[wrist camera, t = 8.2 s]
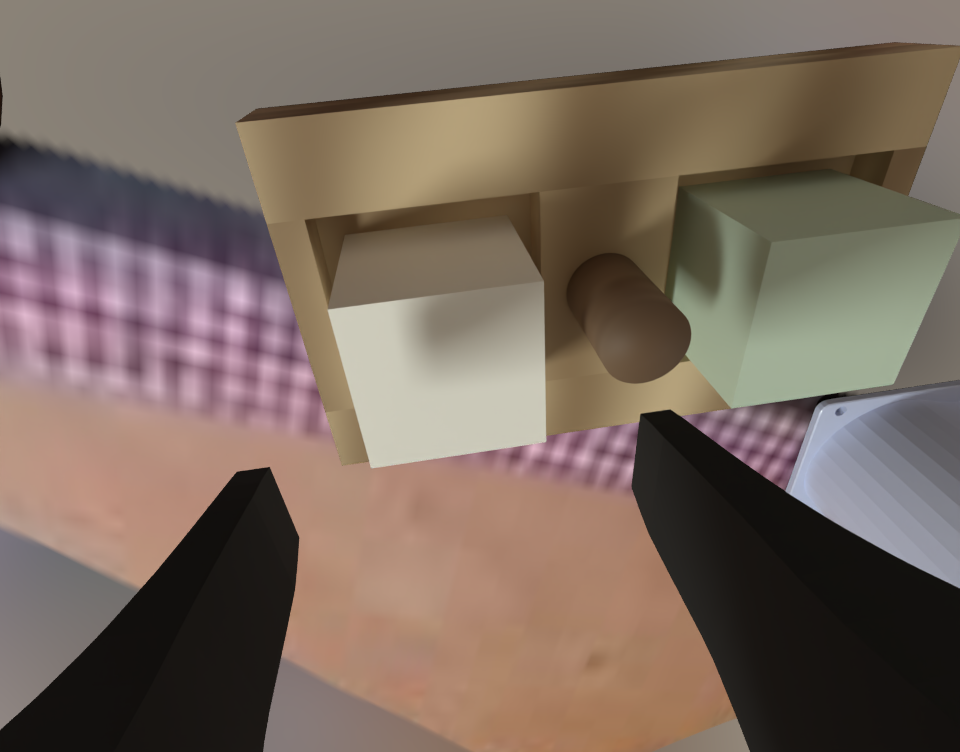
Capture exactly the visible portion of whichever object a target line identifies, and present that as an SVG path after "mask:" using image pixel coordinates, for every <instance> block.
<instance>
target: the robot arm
mask: <svg viewBox="0 0 960 752" xmlns="http://www.w3.org/2000/svg"><path fill="white" fill-rule="evenodd" d="M632 490H633V492H634V495H635V498H636V501H637V504H638V506H639V509H640V512H641V515H642V517H643V520H644V522H645V525H646V528H647V530H648V533H649V535H650V537H651V539H652V541H653V543H654V545H655V547H656V549H657V551H658V553H659V555H660V557H661V559H662V561H663V562H664V564H665V566H666V568H667V570H668V572H669V574H670V576H671V578H672V580H673V582H674V584H675V586H676V587H677V589H678V591H679V593H680V595H681V597H682V599H683V601H684V603H685V605H686V607H687V609H688V610H689V612H690V614H691V616H692V618H693V620H694V622H695V624H696V626H697V628H698V630H699V632H700V633H701V635H702V637H703V639H704V641H705V644H706V646H707V648H708V650H709V652H710V654H711V656H712V658H713V660H714V663H715V665H716V668H717V670H718V672H719V675H720V677H721V680H722V682H723V685H724V687H725V690H726V692H727V694H728V697H729V699H730V702H731V704H732V707H733V709H734V712H735V714H736V716H737V719H738V722H739V724H740V727H741V729H742V732H743V734H744V737H745V740H746V742H747V745H748V747H749V750H750V752H960V380H956V381H949V382H942V383H935V384H929V385H922V386H915V387H908V388H902V389H895V390H889V391H882V392H875V393H868V394H861V395H854V396H848V397H841V398H834V399H828V400H824V401H822V402H820V403H819V404H818V405H817V406H816V408H815V410H814V413H813V416H812V419H811V422H810V424H809V427H808V430H807V433H806V435H805V438H804V441H803V444H802V447H801V449H800V452H799V455H798V458H797V461H796V463H795V466H794V469H793V472H792V475H791V477H790V480H789V483H788V486H787V488H786V491H784V490H783V489H781V488H780V487H778V486H777V485H775V484H774V483H772V482H771V481H769V480H768V479H766V478H765V477H763V476H762V475H760V474H759V473H758V472H756V471H755V470H753V469H752V468H750V467H749V466H748V465H746V464H745V463H743V462H742V461H741V460H739V459H738V458H736V457H735V456H734V455H732V454H731V453H729V452H728V451H727V450H725V449H724V448H723V447H721V446H720V445H719V444H717V443H716V442H714V441H713V440H712V439H710V438H709V437H708V436H706V435H705V434H704V433H702V432H701V431H700V430H698V429H697V428H696V427H694V426H693V425H692V424H690V423H689V422H687V421H686V420H685V419H683V418H682V417H681V416H679V415H678V414H676V413H675V412H674V411H672V410H671V409H669V410H662V411H655V412H648V413H641V414H640V421H639V429H638V438H637V446H636V454H635V463H634V471H633V479H632ZM298 548H299V536H298V534H297V531H296V529H295V526H294V524H293V522H292V519H291V517H290V515H289V512H288V510H287V507H286V505H285V503H284V500H283V498H282V495H281V493H280V491H279V488H278V486H277V483H276V481H275V479H274V476H273V474H272V472H271V469H270V467H267V468H260V469H253V470H246V471H239V472H236V474H235V475H234V476H233V477H232V478H231V480H230V481H229V482H228V483H227V485H226V486H225V487H224V488H223V490H222V491H221V492H220V493H219V495H218V496H217V497H216V498H215V500H214V501H213V502H212V503H211V505H210V506H209V507H208V508H207V510H206V511H205V512H204V513H203V515H202V516H201V517H200V518H199V520H198V521H197V522H196V523H195V525H194V526H193V527H192V528H191V530H190V531H189V532H188V533H187V535H186V536H185V537H184V538H183V540H182V541H181V542H180V543H179V544H178V546H177V547H176V548H175V549H174V551H173V552H172V553H171V554H170V555H169V557H168V558H167V559H166V560H165V561H164V563H163V564H162V565H161V566H160V567H159V569H158V570H157V571H156V572H155V573H154V575H153V576H152V577H151V578H150V579H149V580H148V581H147V583H146V584H145V585H144V586H143V587H142V588H141V589H140V590H139V592H138V593H137V594H136V595H135V596H134V597H133V598H132V599H131V601H130V602H129V603H128V604H127V605H126V606H125V607H124V608H123V610H122V611H121V612H120V613H119V614H118V615H117V616H116V617H115V619H114V620H113V621H112V622H111V623H110V624H109V625H108V626H107V627H106V628H105V629H104V630H103V631H102V633H101V634H100V635H99V636H98V637H97V638H96V639H95V640H94V641H93V642H92V643H91V644H90V645H89V646H88V647H87V648H86V649H85V650H84V651H83V652H82V653H81V654H80V655H79V656H78V657H77V658H76V659H75V660H74V661H73V662H72V663H71V664H70V665H69V666H68V667H67V668H66V669H65V670H64V671H63V672H62V673H61V674H60V675H59V676H58V677H57V678H56V679H55V680H54V681H53V682H52V683H51V684H50V685H49V686H48V687H47V688H46V689H45V690H44V691H43V692H42V693H40V694H39V696H37V697H36V698H35V699H34V700H33V701H32V702H31V703H30V704H29V705H28V706H26V707H25V708H24V709H23V710H22V711H21V712H20V713H19V714H18V715H16V716H15V717H14V718H13V719H12V720H11V721H10V722H9V723H8V724H6V725H5V726H4V727H3V728H2V729H1V730H0V752H263V747H264V740H265V734H266V728H267V722H268V716H269V711H270V706H271V702H272V697H273V692H274V687H275V683H276V678H277V673H278V669H279V664H280V659H281V655H282V650H283V645H284V641H285V636H286V631H287V626H288V621H289V617H290V612H291V607H292V602H293V597H294V592H295V584H296V574H297V562H298Z"/></svg>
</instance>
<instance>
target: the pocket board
mask: <svg viewBox="0 0 960 752" xmlns="http://www.w3.org/2000/svg"><path fill="white" fill-rule="evenodd" d="M959 59H960V46H954V45H935V44H917V43H898V42H894V43H884V44H874V45H865V46H855V47H845V48H836V49H826V50H817V51H808V52H798V53H787V54H778V55H769V56H759V57H749V58H739V59H730V60H720V61H711V62H701V63H691V64H682V65H672V66H663V67H653V68H644V69H634V70H624V71H615V72H605V73H595V74H586V75H577V76H568V77H557V78H547V79H537V80H528V81H518V82H509V83H499V84H489V85H480V86H471V87H462V88H451V89H441V90H432V91H422V92H412V93H403V94H394V95H384V96H374V97H365V98H355V99H346V100H336V101H326V102H317V103H307V104H298V105H287V106H279V107H268V108H259V109H255V110H254V111H252V112H251V113H249V114H248V115H246V116H245V117H243V118H242V119H240V120H239V121H237V122H236V126H237V129H238V133H239V136H240V139H241V143H242V146H243V149H244V152H245V155H246V158H247V162H248V165H249V168H250V171H251V175H252V178H253V181H254V184H255V188H256V191H257V194H258V197H259V200H260V204H261V207H262V210H263V213H264V216H265V220H266V223H267V226H268V229H269V233H270V236H271V239H272V242H273V245H274V249H275V252H276V255H277V258H278V261H279V265H280V268H281V271H282V274H283V277H284V281H285V284H286V287H287V290H288V294H289V297H290V300H291V303H292V306H293V310H294V313H295V316H296V319H297V322H298V326H299V329H300V332H301V335H302V338H303V342H304V345H305V348H306V351H307V355H308V358H309V361H310V364H311V367H312V371H313V374H314V377H315V380H316V383H317V387H318V390H319V393H320V396H321V400H322V403H323V406H324V409H325V412H326V416H327V419H328V422H329V425H330V428H331V432H332V435H333V438H334V441H335V444H336V448H337V451H338V454H339V457H340V461H341V464H342V466H343V465H350V464H357V463H364V462H369V459H368V455H367V451H366V448H365V444H364V441H363V437H362V433H361V430H360V426H359V422H358V419H357V415H356V411H355V408H354V404H353V401H352V397H351V393H350V390H349V386H348V382H347V379H346V375H345V372H344V368H343V364H342V361H341V357H340V353H339V350H338V346H337V343H336V339H335V335H334V332H333V328H332V324H331V321H330V317H329V313H328V310H327V309H328V305H329V301H330V297H331V292H332V288H333V284H334V280H335V275H336V271H337V267H338V262H339V258H340V254H341V250H342V245H343V241H344V237H345V235H348V234H357V233H365V232H373V231H381V230H389V229H397V228H405V227H413V226H421V225H429V224H437V223H445V222H453V221H461V220H469V219H477V218H485V217H493V216H502V215H507V216H508V217H509V219H510V221H511V223H512V225H513V226H514V228H515V230H516V232H517V234H518V235H519V237H520V239H521V241H522V243H523V244H524V246H525V248H526V250H527V252H528V253H529V255H530V257H531V259H532V261H533V262H534V264H535V266H536V268H537V270H538V271H539V273H540V275H541V277H542V279H543V280H544V324H545V393H546V436H547V435H554V434H561V433H568V432H574V431H581V430H588V429H595V428H602V427H608V426H615V425H622V424H629V423H636V422H639V421H640V414H641V413H648V412H655V411H662V410H669V409H671V410H672V411H674V412H675V413H676V414H678V415H679V416H683V415H690V414H697V413H704V412H710V411H717V410H724V409H731V408H730V406H729V405H728V404H727V403H726V402H725V401H724V399H723V398H722V397H721V396H720V395H719V394H718V392H717V391H716V390H715V389H714V388H713V387H712V385H711V384H710V383H709V382H708V381H707V380H706V378H705V377H704V376H703V375H702V374H701V372H700V371H699V370H698V369H697V368H696V367H695V365H694V364H693V363H692V362H691V361H690V360H689V358H688V357H687V356H686V355H685V354H686V352H687V350H688V348H689V345H690V341H691V327H690V323H689V321H688V319H687V318H686V316H685V315H684V314H683V313H682V312H681V311H680V310H679V309H678V308H677V307H676V306H675V305H674V304H673V303H672V302H671V300H670V299H669V298H668V297H667V296H666V295H665V289H666V282H667V274H668V267H669V259H670V252H671V244H672V237H673V229H674V222H675V214H676V206H677V199H678V191H679V187H680V186H688V185H697V184H705V183H714V182H722V181H730V180H739V179H747V178H756V177H764V176H772V175H781V174H789V173H798V172H806V171H815V170H823V169H833V170H835V171H838V172H841V173H844V174H847V175H850V176H852V177H855V178H858V179H861V180H864V181H867V182H870V183H872V184H875V185H878V186H881V187H884V188H887V189H889V190H892V191H895V192H898V193H901V194H904V195H906V196H908V195H909V192H910V190H911V187H912V184H913V181H914V179H915V176H916V174H917V171H918V168H919V165H920V163H921V160H922V158H923V155H924V152H925V149H926V147H927V144H928V142H929V139H930V136H931V134H932V131H933V128H934V126H935V123H936V120H937V118H938V115H939V112H940V110H941V107H942V105H943V102H944V99H945V97H946V94H947V91H948V89H949V86H950V83H951V81H952V78H953V75H954V72H955V70H956V67H957V65H958V62H959Z"/></svg>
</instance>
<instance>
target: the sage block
mask: <svg viewBox="0 0 960 752" xmlns="http://www.w3.org/2000/svg"><path fill="white" fill-rule="evenodd" d="M959 237H960V214H958V213H955V212H952V211H949V210H946V209H943V208H940V207H938V206H935V205H932V204H929V203H926V202H924V201H921V200H918V199H915V198H912V197H909V196H906V195H904V194H901V193H898V192H895V191H892V190H889V189H887V188H884V187H881V186H878V185H875V184H872V183H870V182H867V181H864V180H861V179H858V178H855V177H852V176H850V175H847V174H844V173H841V172H838V171H835V170H833V169H823V170H815V171H806V172H798V173H789V174H781V175H772V176H764V177H756V178H747V179H739V180H730V181H722V182H714V183H705V184H697V185H688V186H680V187H679V191H678V199H677V206H676V214H675V222H674V229H673V237H672V244H671V252H670V259H669V267H668V274H667V282H666V289H665V295H666V296H667V297H668V298H669V299H670V300H671V302H672V303H673V304H674V305H675V306H676V307H677V308H678V309H679V310H680V311H681V312H682V313H683V314H684V315H685V316H686V318H687V319H688V321H689V323H690V327H691V341H690V345H689V348H688V350H687V352H686V354H685V355H686V356H687V357H688V358H689V360H690V361H691V362H692V363H693V364H694V365H695V367H696V368H697V369H698V370H699V371H700V372H701V374H702V375H703V376H704V377H705V378H706V380H707V381H708V382H709V383H710V384H711V385H712V387H713V388H714V389H715V390H716V391H717V392H718V394H719V395H720V396H721V397H722V398H723V399H724V401H725V402H726V403H727V404H728V405H729V406H730V408H738V407H745V406H751V405H758V404H765V403H772V402H779V401H785V400H792V399H799V398H806V397H812V396H819V395H826V394H833V393H840V392H846V391H853V390H860V389H867V388H874V387H880V386H887V385H893V384H894V382H895V380H896V377H897V375H898V373H899V371H900V368H901V366H902V364H903V362H904V360H905V358H906V355H907V353H908V351H909V349H910V346H911V344H912V342H913V340H914V337H915V335H916V333H917V331H918V329H919V326H920V324H921V322H922V319H923V318H924V315H925V313H926V311H927V309H928V306H929V304H930V302H931V300H932V298H933V295H934V293H935V291H936V289H937V287H938V284H939V282H940V280H941V278H942V275H943V273H944V271H945V269H946V267H947V264H948V262H949V260H950V257H951V255H952V253H953V251H954V249H955V246H956V244H957V242H958V240H959Z"/></svg>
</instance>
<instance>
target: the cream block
mask: <svg viewBox="0 0 960 752" xmlns="http://www.w3.org/2000/svg"><path fill="white" fill-rule="evenodd" d="M327 310H328V313H329V317H330V321H331V324H332V328H333V332H334V335H335V339H336V343H337V346H338V350H339V353H340V357H341V361H342V364H343V368H344V372H345V375H346V379H347V382H348V386H349V390H350V393H351V397H352V401H353V404H354V408H355V411H356V415H357V419H358V422H359V426H360V430H361V433H362V437H363V441H364V444H365V448H366V451H367V455H368V459H369V462H370V466H371V468H377V467H384V466H391V465H397V464H404V463H410V462H417V461H424V460H430V459H437V458H444V457H450V456H457V455H463V454H470V453H477V452H483V451H490V450H496V449H503V448H510V447H516V446H523V445H530V444H536V443H543V442H546V393H545V324H544V280H543V279H542V277H541V275H540V273H539V271H538V270H537V268H536V266H535V264H534V262H533V261H532V259H531V257H530V255H529V253H528V252H527V250H526V248H525V246H524V244H523V243H522V241H521V239H520V237H519V235H518V234H517V232H516V230H515V228H514V226H513V225H512V223H511V221H510V219H509V217H508V216H507V215H502V216H493V217H485V218H477V219H469V220H461V221H453V222H445V223H437V224H429V225H421V226H413V227H405V228H397V229H389V230H381V231H373V232H365V233H357V234H348V235H345V237H344V241H343V245H342V250H341V254H340V258H339V262H338V267H337V271H336V275H335V280H334V284H333V288H332V292H331V297H330V301H329V305H328V309H327Z"/></svg>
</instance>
